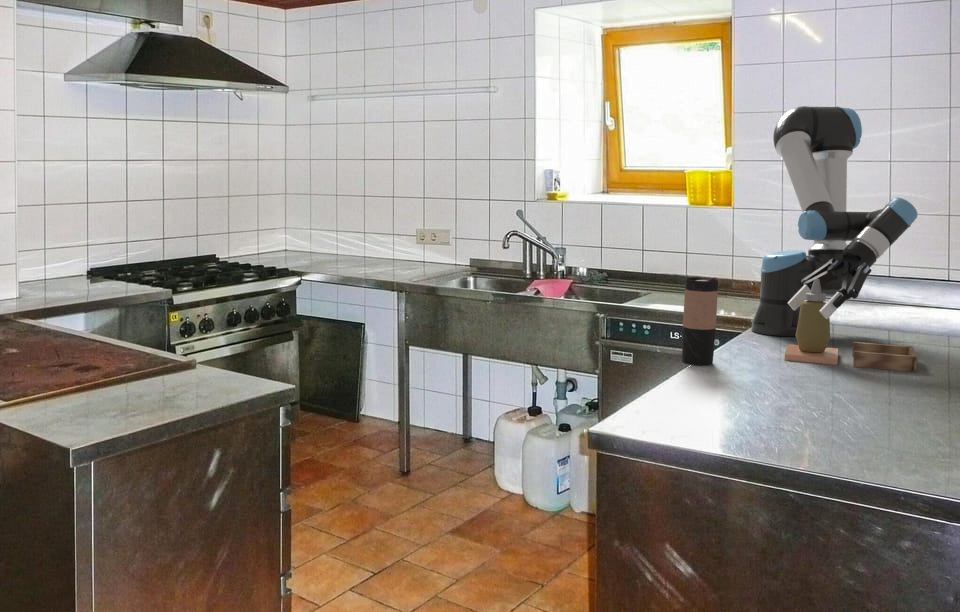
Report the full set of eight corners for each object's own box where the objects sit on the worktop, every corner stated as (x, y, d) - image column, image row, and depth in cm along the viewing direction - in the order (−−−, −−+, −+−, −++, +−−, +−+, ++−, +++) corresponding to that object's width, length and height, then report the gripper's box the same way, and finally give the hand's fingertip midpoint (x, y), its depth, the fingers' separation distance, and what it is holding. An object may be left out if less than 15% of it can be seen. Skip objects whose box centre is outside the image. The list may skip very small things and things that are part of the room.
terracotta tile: (784, 360, 219) (784, 354, 219) (787, 350, 232) (788, 344, 231) (837, 364, 214) (837, 358, 214) (837, 354, 227) (838, 348, 227)
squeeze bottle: (801, 346, 229) (806, 276, 226) (833, 350, 224) (839, 279, 221) (789, 351, 222) (794, 278, 220) (822, 355, 217) (827, 281, 215)
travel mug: (690, 366, 209) (695, 281, 206) (675, 360, 216) (679, 277, 214) (720, 365, 211) (724, 280, 208) (703, 358, 218) (708, 277, 216)
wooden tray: (853, 366, 213) (854, 351, 212) (852, 355, 226) (853, 341, 226) (916, 371, 208) (917, 357, 207) (911, 360, 221) (912, 346, 221)
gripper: (908, 265, 211) (846, 329, 210) (842, 255, 235) (787, 313, 234) (890, 243, 209) (828, 307, 208) (826, 235, 233) (770, 293, 232)
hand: (806, 310), depth 221 cm, fingers open, 13 cm apart
